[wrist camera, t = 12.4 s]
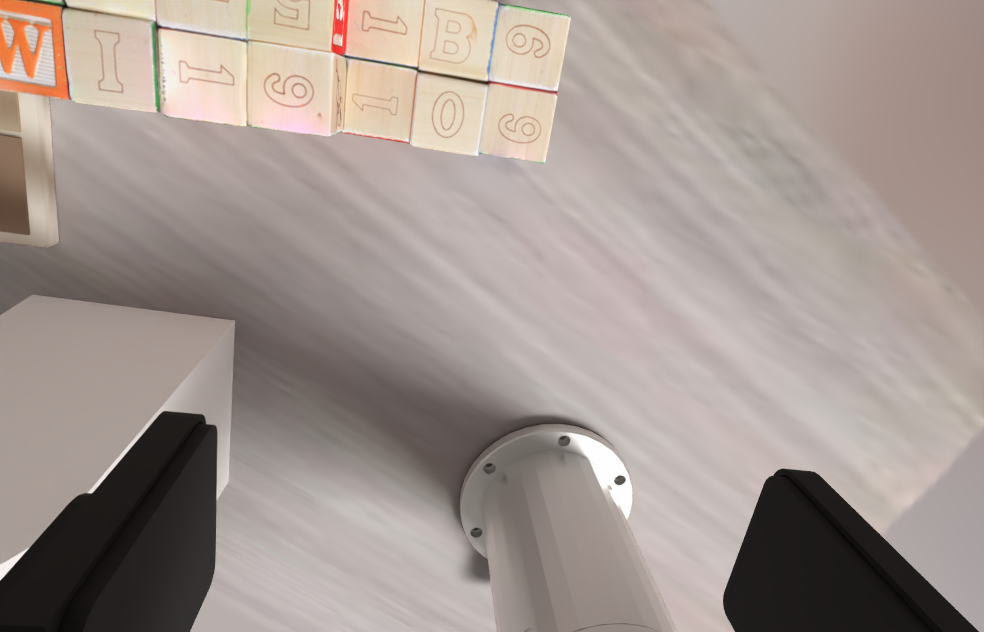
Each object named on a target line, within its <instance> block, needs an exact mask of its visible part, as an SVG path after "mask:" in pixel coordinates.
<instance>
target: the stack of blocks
mask: <svg viewBox="0 0 984 632" xmlns="http://www.w3.org/2000/svg"><path fill="white" fill-rule="evenodd" d="M570 19H571V17H570V16H568V15H564V14H558V13H552V12H547V11H541V10H535V9H530V8H525V7H520V6H512V5H504V4H500V3H499V2H496V1H492V0H0V90H2V91H9V92H16V93H23V94H30V95H37V96H43V97H50V98H57V99H66V100H73V101H74V102H76V103H82V104H90V105H98V106H106V107H114V108H121V109H129V110H137V111H146V112H161V113H163V114H164V115H165V116H167V117H171V118H178V119H186V120H195V121H202V122H210V123H218V124H225V125H233V126H252V127H256V128H263V129H270V130H278V131H286V132H294V133H301V134H309V135H317V136H324V137H330V136H332V135H335V134H338V133H340V132H341V133H346V134H354V135H360V136H366V137H372V138H379V139H385V140H391V141H397V142H404V143H409V144H410V145H411V146H414V147H420V148H426V149H432V150H438V151H444V152H451V153H458V154H465V155H472V156H478V155H479V154H485V155H491V156H498V157H504V158H510V159H517V160H523V161H529V162H536V163H545V161H546V156H547V150H548V145H549V140H550V134H551V128H552V123H553V118H554V113H555V107H556V102H557V90H558V85H559V80H560V75H561V70H562V64H563V59H564V53H565V47H566V42H567V36H568V31H569V26H570Z"/></svg>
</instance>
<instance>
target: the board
mask: <svg viewBox="0 0 984 632" xmlns="http://www.w3.org/2000/svg"><path fill="white" fill-rule="evenodd" d="M0 242H6V243H14V244H21V245H29V246H37V247H44V248H48V247H50V246H53V245H55V244H57V243H59V233H58V219H57V205H56V191H55V176H54V162H53V148H52V134H51V120H50V105H49V97H43V96H37V95H30V94H23V93H16V92H9V91H2V90H0Z"/></svg>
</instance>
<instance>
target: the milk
mask: <svg viewBox="0 0 984 632" xmlns="http://www.w3.org/2000/svg"><path fill="white" fill-rule="evenodd" d="M234 336H235V321H234V320H226V319H218V318H211V317H203V316H195V315H187V314H179V313H172V312H164V311H156V310H148V309H141V308H133V307H125V306H117V305H110V304H102V303H94V302H86V301H78V300H71V299H63V298H55V297H47V296H39V295H31V296H29V297H28V298H26V299H25V300H23V301H21V302H20V303H18V304H17V305H15V306H14V307H12V308H10V309H9V310H7V311H6V312H4V313H3V314H1V315H0V580H1V579H2V578H3V577H4V576H5V575H6V574H7V572H8V571H9V570H10V569H11V568H12V567H13V566H14V565H15V563H16V562H17V561H18V560H19V559H20V558H21V557H22V556H23V554H24V553H25V552H26V551H27V550H28V549H29V548H30V547H31V545H32V544H33V543H34V542H35V541H36V540H37V539H38V538H39V536H40V535H41V534H42V533H43V532H44V531H45V530H46V529H47V527H48V526H49V525H50V524H51V523H52V522H53V521H54V520H55V518H56V517H57V516H58V515H59V514H60V513H61V512H62V511H63V509H64V508H65V507H66V506H67V505H68V504H69V503H70V502H71V501H72V500H73V499H74V498H75V497H76V496H78V495H80V494H83V493H93V492H94V491H95V490H96V488H97V487H98V486H99V485H100V484H101V482H102V481H103V480H104V479H105V478H106V477H107V475H108V474H109V473H110V472H111V471H112V470H113V468H114V467H115V466H116V465H117V464H118V463H119V461H120V460H121V459H122V458H123V457H124V455H125V454H126V453H127V452H128V451H129V450H130V448H131V447H132V446H133V445H134V444H135V443H136V441H137V440H138V439H139V438H140V437H141V435H142V434H143V433H144V432H145V431H146V430H147V428H148V427H149V426H150V425H151V424H152V423H153V421H154V420H155V419H156V418H157V417H158V416H159V414H161V413H162V412H163V411H172V412H183V413H193V414H203V415H204V416H205V419H206V424H210V425H215V426H216V427H217V435H218V436H217V494H216V501H217V500H218V498H219V496H220V495H221V493H222V491H223V490H224V488H225V487H226V485H227V483H228V479H229V456H230V432H231V408H232V384H233V360H234Z"/></svg>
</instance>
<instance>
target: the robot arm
mask: <svg viewBox="0 0 984 632" xmlns="http://www.w3.org/2000/svg"><path fill="white" fill-rule="evenodd" d="M217 436H218V435H217V427H216V426H215V425H210V424H206V419H205V416H204V415H203V414H193V413H183V412H172V411H163V412H162V413H161V414H159V416H158V417H157V418H156V419H155V420H154V421H153V423H152V424H151V425H150V426H149V427H148V428H147V430H146V431H145V432H144V433H143V434H142V435H141V437H140V438H139V439H138V440H137V441H136V443H135V444H134V445H133V446H132V447H131V448H130V450H129V451H128V452H127V453H126V454H125V455H124V457H123V458H122V459H121V460H120V461H119V463H118V464H117V465H116V466H115V467H114V468H113V470H112V471H111V472H110V473H109V474H108V475H107V477H106V478H105V479H104V480H103V481H102V482H101V484H100V485H99V486H98V487H97V488H96V490H95V491H94V492H93V493H83V494H80V495H78V496H76V497H75V498H74V499H73V500H72V501H71V502H70V503H69V504H68V505H67V506H66V507H65V508H64V509H63V511H62V512H61V513H60V514H59V515H58V516H57V517H56V518H55V520H54V521H53V522H52V523H51V524H50V525H49V526H48V527H47V529H46V530H45V531H44V532H43V533H42V534H41V535H40V536H39V538H38V539H37V540H36V541H35V542H34V543H33V544H32V545H31V547H30V548H29V549H28V550H27V551H26V552H25V553H24V554H23V556H22V557H21V558H20V559H19V560H18V561H17V562H16V563H15V565H14V566H13V567H12V568H11V569H10V570H9V571H8V572H7V574H6V575H5V576H4V577H3V578H2V579H1V580H0V632H190V630H191V628H192V626H193V623H194V621H195V619H196V617H197V615H198V612H199V610H200V608H201V606H202V603H203V601H204V599H205V597H206V595H207V592H208V590H209V588H210V585H211V582H212V579H213V574H214V569H215V553H216V494H217ZM632 501H633V485H632V482H631V478H630V474H629V472H628V470H627V467H626V465H625V463H624V461H623V460H622V458H621V457H620V455H619V454H618V452H617V451H616V450H615V448H614V447H612V446H611V445H610V444H609V443H608V442H607V441H606V440H605V439H603V438H602V437H600V436H598V435H596V434H595V433H593V432H591V431H589V430H586V429H583V428H580V427H577V426H571V425H565V424H541V425H536V426H531V427H526V428H523V429H520V430H518V431H515V432H512V433H510V434H508V435H506V436H504V437H503V438H501V439H499V440H497V441H496V442H494V443H493V444H492V445H491V446H489V447H488V448H487V449H486V450H485V451H483V452H482V453H481V455H480V456H479V457H478V458H477V459H476V461H475V462H474V463H473V464H472V466H471V468H470V469H469V471H468V473H467V475H466V477H465V479H464V482H463V486H462V489H461V495H460V513H461V521H462V525H463V528H464V532H465V534H466V536H467V537H468V539H469V541H470V543H471V544H472V546H473V547H474V548H475V549H476V550H477V551H478V552H479V553H480V554H481V555H482V556H483V557H485V558H486V559H487V560H488V564H489V572H490V580H491V588H492V596H493V604H494V612H495V620H496V628H497V632H678V631H677V629H676V626H675V624H674V622H673V620H672V618H671V616H670V613H669V611H668V609H667V607H666V605H665V602H664V600H663V598H662V596H661V594H660V592H659V589H658V587H657V585H656V583H655V581H654V578H653V576H652V574H651V572H650V570H649V568H648V565H647V563H646V561H645V559H644V557H643V554H642V552H641V550H640V548H639V546H638V544H637V541H636V539H635V537H634V535H633V533H632V531H631V528H630V526H629V524H628V522H627V519H628V517H629V515H630V512H631V507H632ZM723 605H724V610H725V614H726V616H727V618H728V620H729V622H730V623H731V625H732V627H733V629H734V630H735V632H979V631H977V629H976V628H974V626H973V625H971V624H970V623H969V622H968V621H967V620H966V619H965V618H964V617H963V616H962V615H961V614H960V613H959V612H958V611H957V610H956V609H955V608H954V607H953V606H952V605H951V604H950V603H949V602H948V601H947V600H946V599H945V598H944V597H943V596H942V595H941V594H940V593H939V592H938V591H937V590H936V589H935V588H934V587H933V586H932V585H931V584H930V583H929V582H928V581H927V580H925V578H924V577H923V576H921V575H920V574H919V573H918V572H917V571H916V570H915V569H914V568H913V567H912V566H911V565H910V564H909V563H908V562H907V561H906V560H905V559H904V558H903V557H902V556H901V555H900V554H899V553H898V552H897V551H896V550H895V549H894V548H893V547H892V546H891V545H890V544H889V543H888V542H887V541H886V540H885V539H884V538H883V537H882V536H881V535H880V534H879V533H878V532H877V531H876V530H875V529H874V528H873V527H872V526H871V525H870V524H868V523H867V522H866V521H865V520H864V519H863V518H862V517H861V516H860V515H859V514H858V513H857V512H856V511H855V510H854V509H853V508H852V507H851V506H850V505H849V504H848V503H847V502H846V501H845V500H844V499H843V498H842V497H841V496H840V495H839V494H838V493H837V492H836V491H835V490H834V489H833V488H832V487H831V486H830V485H829V484H828V483H827V482H826V481H825V480H824V479H823V478H822V477H821V476H820V475H818V474H817V473H815V472H811V471H802V470H791V469H780V470H778V471H777V472H776V473H775V474H774V476H771V477H769V478H768V479H767V480H766V481H765V483H764V486H763V489H762V491H761V494H760V497H759V499H758V502H757V505H756V508H755V510H754V513H753V516H752V518H751V521H750V524H749V527H748V529H747V532H746V535H745V537H744V540H743V543H742V545H741V548H740V551H739V554H738V556H737V559H736V562H735V564H734V567H733V570H732V573H731V575H730V578H729V581H728V583H727V586H726V589H725V592H724V596H723Z"/></svg>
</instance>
